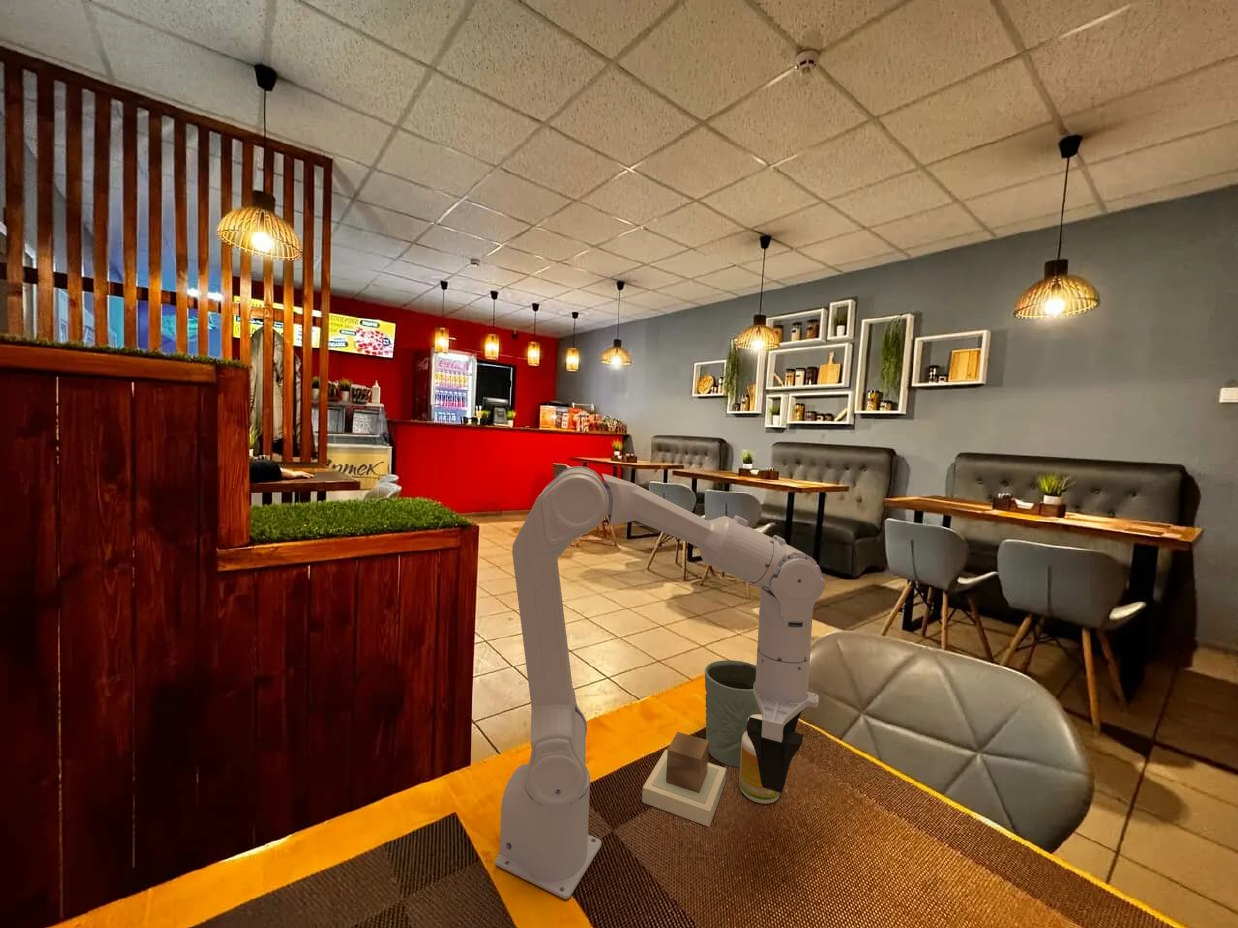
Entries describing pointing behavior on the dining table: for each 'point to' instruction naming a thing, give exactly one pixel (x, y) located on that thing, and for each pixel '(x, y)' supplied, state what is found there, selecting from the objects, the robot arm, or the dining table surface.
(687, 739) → the walnut block
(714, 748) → the green plant pot
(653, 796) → the tile base
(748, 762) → the supplement bottle
